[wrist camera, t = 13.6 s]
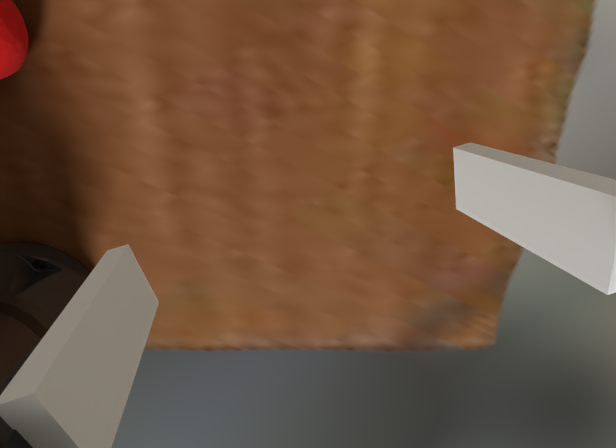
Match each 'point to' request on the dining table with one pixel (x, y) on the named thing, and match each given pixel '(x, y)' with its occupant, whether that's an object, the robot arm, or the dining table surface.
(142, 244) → the dining table surface
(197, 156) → the dining table surface
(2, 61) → the fruit
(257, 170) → the dining table surface
